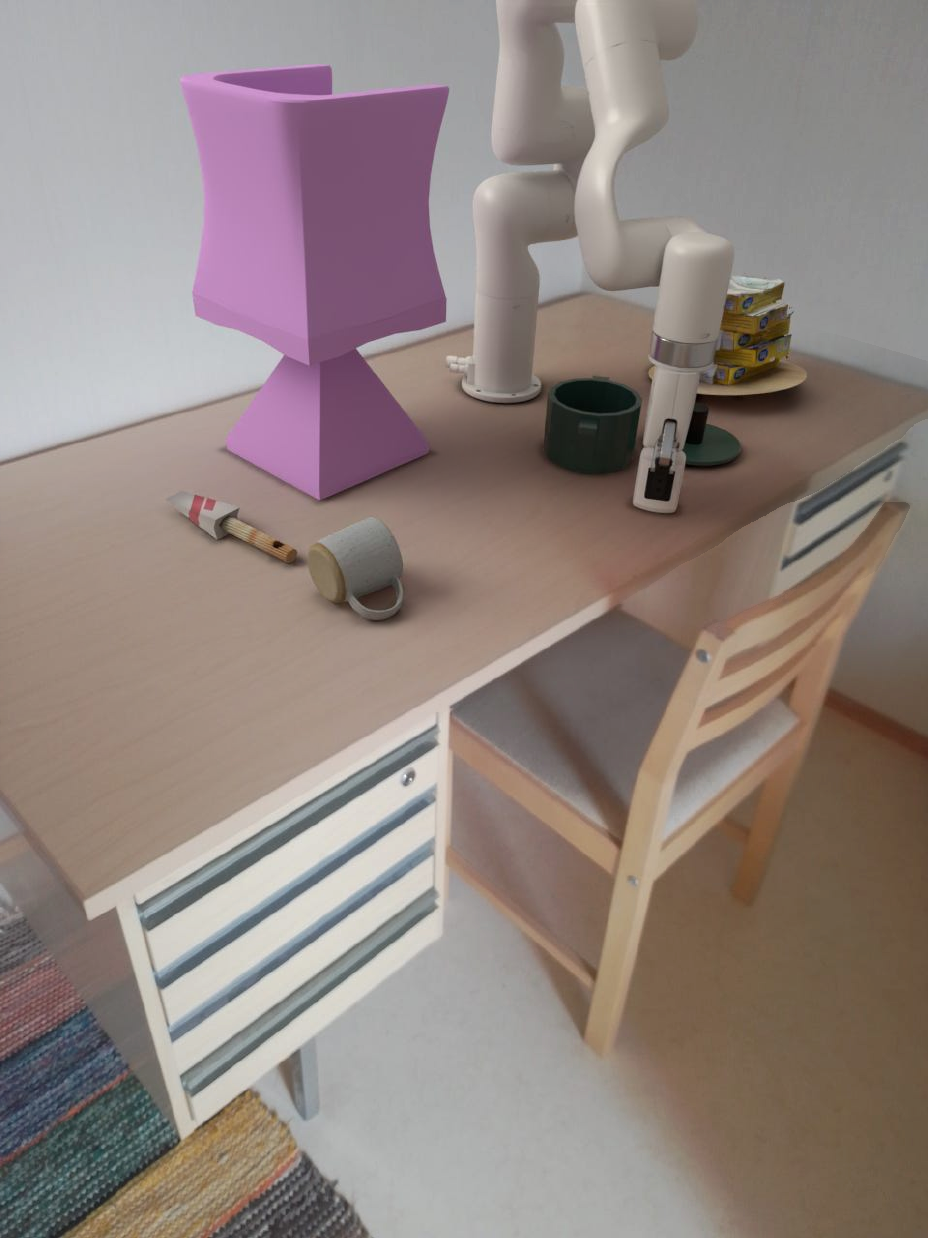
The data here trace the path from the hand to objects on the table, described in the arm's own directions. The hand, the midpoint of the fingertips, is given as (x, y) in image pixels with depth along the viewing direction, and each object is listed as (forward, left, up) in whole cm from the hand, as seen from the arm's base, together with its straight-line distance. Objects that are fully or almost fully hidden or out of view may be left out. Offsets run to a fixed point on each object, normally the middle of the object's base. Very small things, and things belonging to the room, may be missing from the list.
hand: (658, 484), depth 121 cm
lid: (+4, +19, -3) cm, 20 cm away
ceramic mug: (-30, -29, -3) cm, 42 cm away
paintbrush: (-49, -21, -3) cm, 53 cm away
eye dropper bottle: (0, 0, -3) cm, 3 cm away
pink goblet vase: (-45, +3, -3) cm, 45 cm away
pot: (-10, +13, -3) cm, 17 cm away
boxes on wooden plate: (+9, +45, -3) cm, 46 cm away
